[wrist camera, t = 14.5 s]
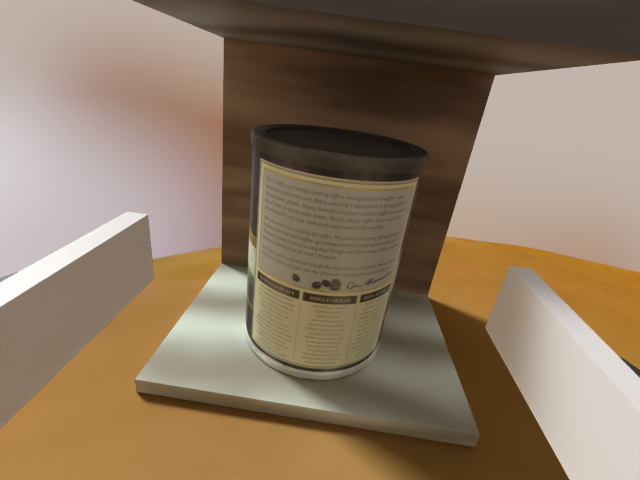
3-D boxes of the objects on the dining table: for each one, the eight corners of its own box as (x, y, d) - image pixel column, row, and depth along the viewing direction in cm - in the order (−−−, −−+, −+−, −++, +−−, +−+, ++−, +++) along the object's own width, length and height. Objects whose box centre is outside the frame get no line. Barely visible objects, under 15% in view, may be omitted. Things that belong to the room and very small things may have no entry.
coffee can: (222, 307, 27) (224, 119, 21) (329, 281, 32) (353, 127, 27) (284, 408, 19) (314, 157, 13) (409, 351, 25) (467, 157, 19)
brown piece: (474, 447, 20) (695, -14, 11) (136, 391, 20) (73, -95, 11) (422, 295, 34) (496, 46, 25) (226, 264, 35) (230, 10, 26)
